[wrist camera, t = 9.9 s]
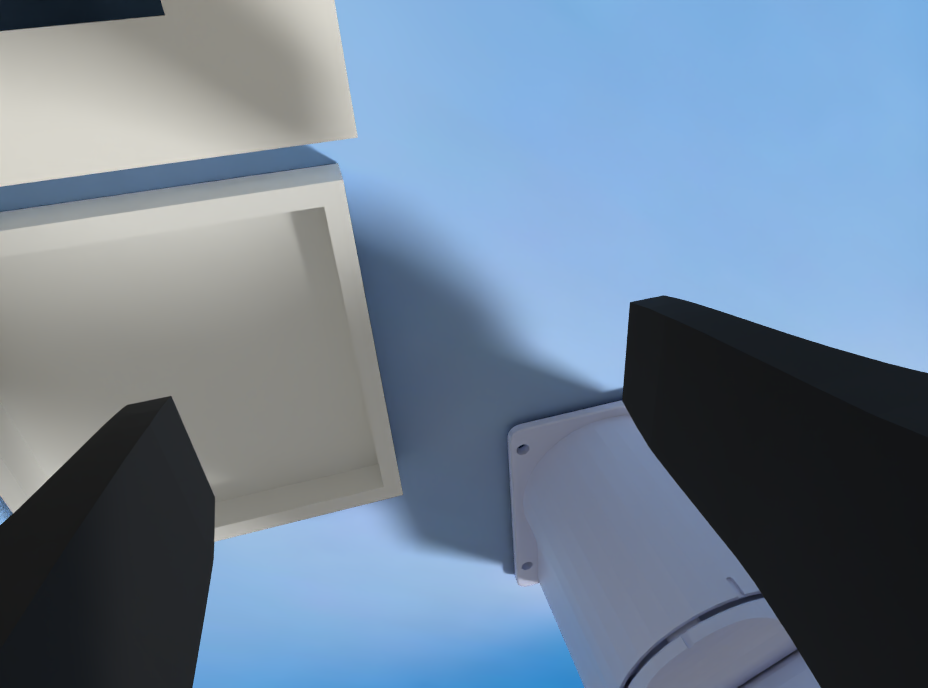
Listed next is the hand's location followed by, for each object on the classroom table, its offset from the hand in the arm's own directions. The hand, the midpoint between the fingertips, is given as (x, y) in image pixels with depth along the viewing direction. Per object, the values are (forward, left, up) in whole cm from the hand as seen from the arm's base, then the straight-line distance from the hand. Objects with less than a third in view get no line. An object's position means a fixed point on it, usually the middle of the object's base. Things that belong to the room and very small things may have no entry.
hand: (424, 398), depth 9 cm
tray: (-4, +6, -9) cm, 12 cm away
